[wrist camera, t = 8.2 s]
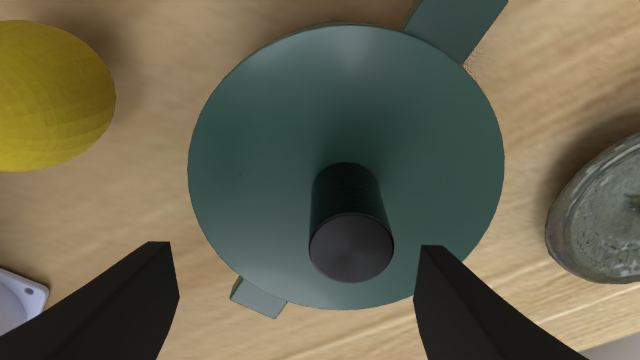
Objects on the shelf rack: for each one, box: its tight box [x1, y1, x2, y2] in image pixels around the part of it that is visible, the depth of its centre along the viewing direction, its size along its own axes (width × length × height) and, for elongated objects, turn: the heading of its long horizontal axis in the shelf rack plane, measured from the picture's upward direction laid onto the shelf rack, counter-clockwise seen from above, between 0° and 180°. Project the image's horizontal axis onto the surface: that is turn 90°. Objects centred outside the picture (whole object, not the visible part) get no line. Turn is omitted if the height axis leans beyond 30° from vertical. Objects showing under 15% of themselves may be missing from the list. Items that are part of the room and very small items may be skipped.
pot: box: [230, 0, 508, 319], centre depth 17 cm, size 10×16×6 cm, turn 149°
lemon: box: [0, 20, 116, 172], centre depth 15 cm, size 6×6×8 cm
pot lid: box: [187, 23, 505, 310], centre depth 13 cm, size 11×11×5 cm
